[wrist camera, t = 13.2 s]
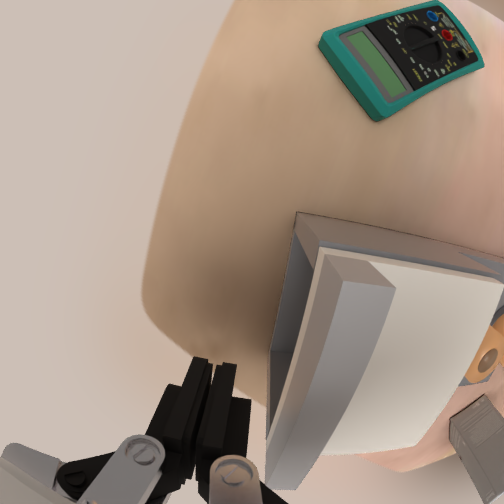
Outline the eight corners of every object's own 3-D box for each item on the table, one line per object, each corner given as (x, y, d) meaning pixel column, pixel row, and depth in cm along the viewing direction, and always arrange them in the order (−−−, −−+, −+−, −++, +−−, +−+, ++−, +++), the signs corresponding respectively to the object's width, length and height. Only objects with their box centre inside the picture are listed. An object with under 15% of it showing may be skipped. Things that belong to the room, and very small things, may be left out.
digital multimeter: (475, 70, 14) (493, 63, 11) (370, 126, 17) (386, 119, 14) (430, 8, 13) (444, -5, 10) (311, 47, 16) (318, 30, 13)
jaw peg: (430, 289, 20) (485, 337, 12) (460, 293, 20) (513, 335, 12) (415, 330, 21) (459, 386, 13) (445, 331, 21) (489, 380, 13)
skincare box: (448, 417, 24) (491, 500, 9) (488, 389, 23) (539, 461, 8) (448, 441, 26) (480, 512, 11) (483, 417, 25) (522, 481, 9)
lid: (493, 277, 10) (535, 304, 7) (410, 435, 13) (426, 472, 10) (319, 246, 10) (343, 280, 7) (266, 440, 13) (264, 488, 10)
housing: (510, 260, 18) (567, 290, 10) (470, 361, 22) (509, 408, 13) (296, 211, 19) (319, 239, 10) (267, 356, 22) (265, 439, 13)
